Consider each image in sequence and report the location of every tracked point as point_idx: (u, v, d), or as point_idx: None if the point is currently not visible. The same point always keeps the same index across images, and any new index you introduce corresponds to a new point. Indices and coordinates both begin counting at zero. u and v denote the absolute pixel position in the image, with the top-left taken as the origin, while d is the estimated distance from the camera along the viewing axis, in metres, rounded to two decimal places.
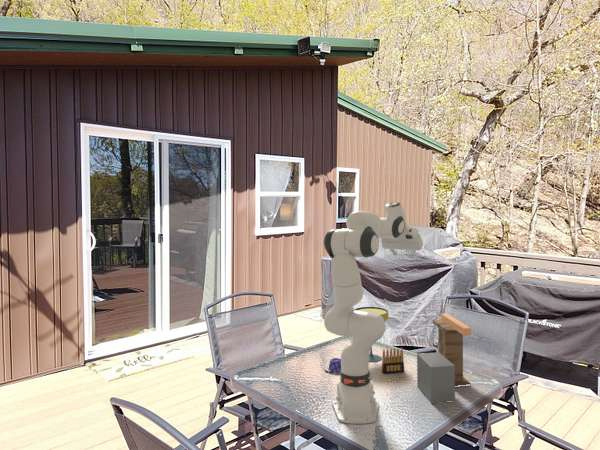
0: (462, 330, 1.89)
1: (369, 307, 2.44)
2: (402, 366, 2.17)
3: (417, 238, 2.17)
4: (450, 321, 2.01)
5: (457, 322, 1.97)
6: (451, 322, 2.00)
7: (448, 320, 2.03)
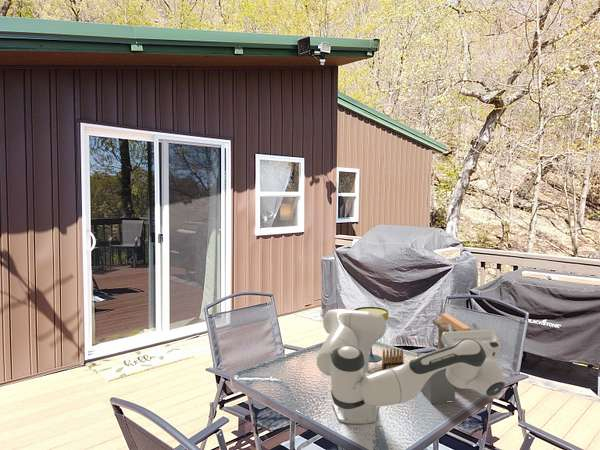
0: (462, 330, 1.89)
1: (369, 307, 2.44)
2: None
3: None
4: (450, 321, 2.01)
5: (457, 322, 1.97)
6: (451, 322, 2.00)
7: (448, 320, 2.03)
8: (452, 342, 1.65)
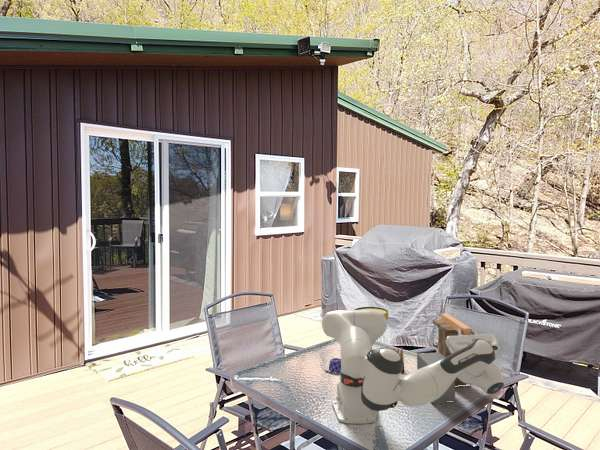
0: None
1: (369, 307, 2.44)
2: None
3: None
4: (450, 321, 2.01)
5: (457, 322, 1.97)
6: (451, 322, 2.00)
7: (448, 320, 2.03)
8: (456, 345, 1.81)
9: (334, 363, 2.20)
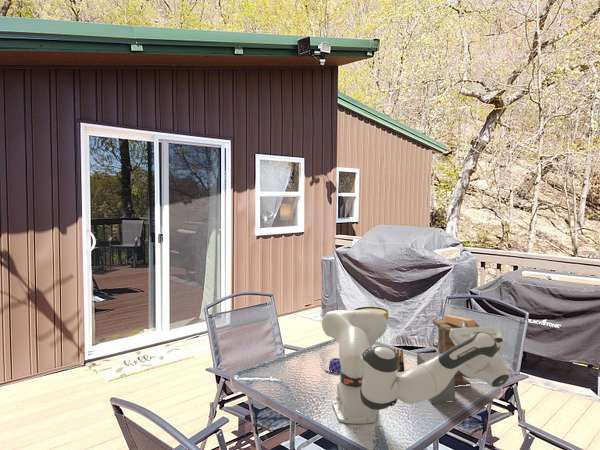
0: None
1: (369, 307, 2.44)
2: (402, 366, 2.17)
3: None
4: (453, 319, 1.98)
5: (460, 318, 1.94)
6: (454, 319, 1.97)
7: (451, 319, 2.00)
8: (460, 338, 1.77)
9: (334, 363, 2.20)
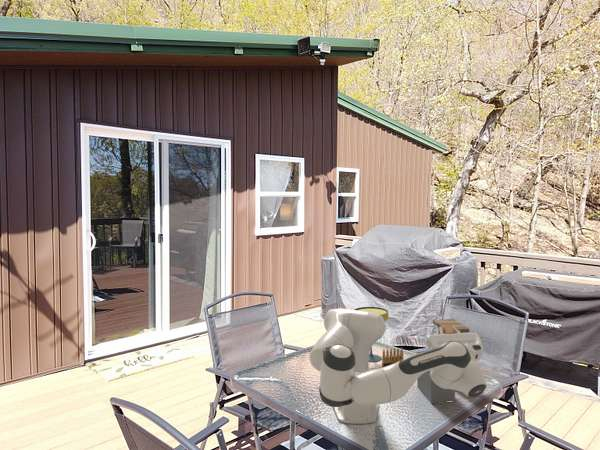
0: None
1: (369, 307, 2.44)
2: None
3: None
4: None
5: None
6: None
7: None
8: (436, 345, 1.70)
9: None
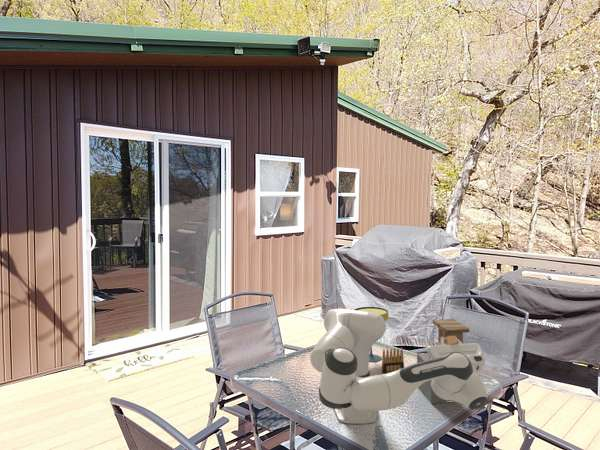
0: (447, 339, 1.76)
1: (369, 307, 2.44)
2: (402, 366, 2.17)
3: None
4: None
5: None
6: None
7: None
8: (437, 356, 1.69)
9: None
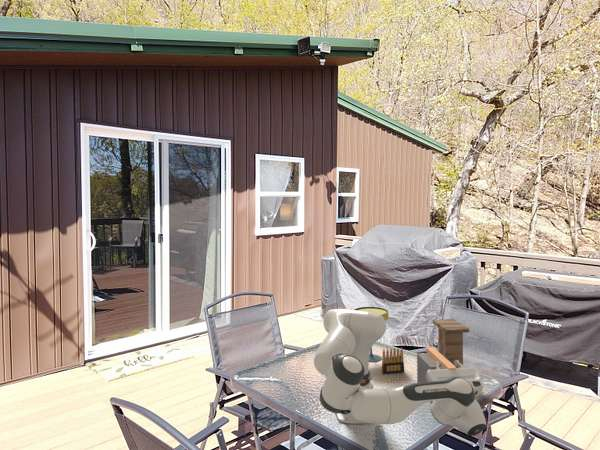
0: None
1: (369, 307, 2.44)
2: (402, 366, 2.17)
3: None
4: (435, 357, 1.88)
5: (442, 359, 1.84)
6: (436, 358, 1.87)
7: (433, 356, 1.90)
8: (436, 381, 1.70)
9: None
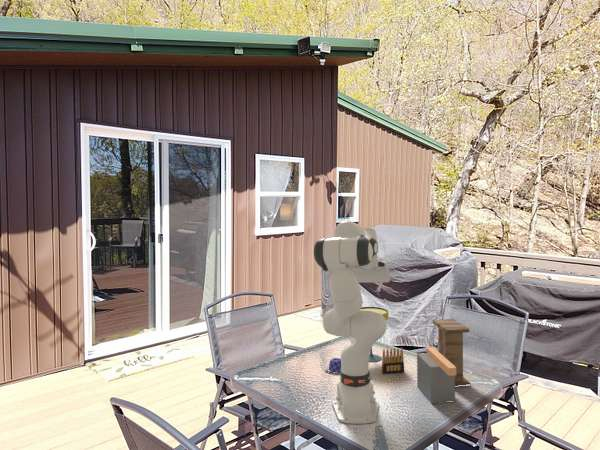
0: (447, 369, 1.76)
1: (369, 307, 2.44)
2: (402, 366, 2.17)
3: (387, 268, 2.14)
4: (435, 357, 1.88)
5: (442, 359, 1.84)
6: (436, 358, 1.87)
7: (433, 356, 1.90)
8: None
9: (335, 363, 2.20)
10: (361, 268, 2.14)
